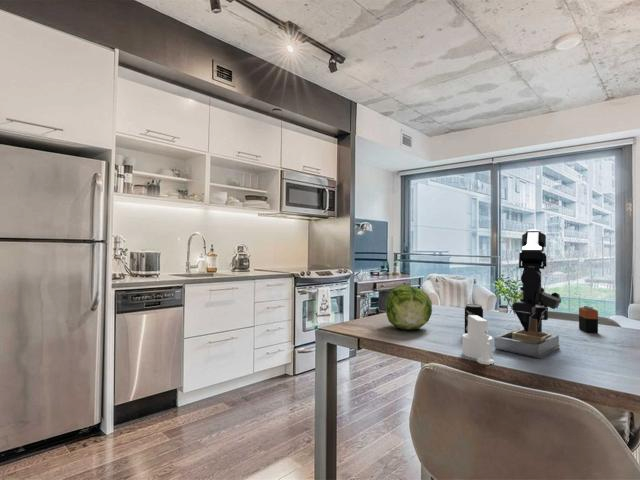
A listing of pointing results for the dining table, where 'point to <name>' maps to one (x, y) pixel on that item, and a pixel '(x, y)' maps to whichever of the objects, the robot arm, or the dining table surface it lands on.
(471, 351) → the white stepped block
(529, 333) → the box
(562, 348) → the dining table surface
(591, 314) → the battery
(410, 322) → the lettuce
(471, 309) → the beverage can
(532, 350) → the bay
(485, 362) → the chess piece
